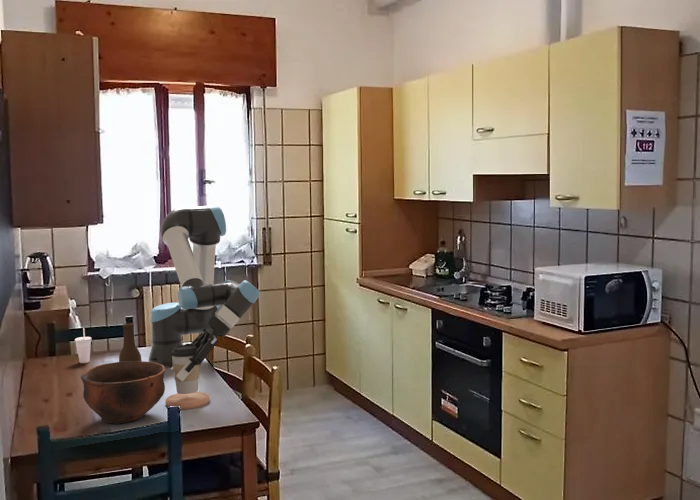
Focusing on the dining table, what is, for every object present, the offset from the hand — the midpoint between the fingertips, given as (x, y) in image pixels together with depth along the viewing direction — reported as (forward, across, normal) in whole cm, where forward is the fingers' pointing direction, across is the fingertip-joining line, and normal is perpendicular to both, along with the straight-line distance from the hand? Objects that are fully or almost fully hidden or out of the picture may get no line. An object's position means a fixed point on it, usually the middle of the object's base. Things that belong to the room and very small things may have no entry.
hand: (176, 374), depth 238 cm
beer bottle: (+16, +21, +2) cm, 27 cm away
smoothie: (+25, +73, +11) cm, 78 cm away
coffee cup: (+2, 0, -6) cm, 7 cm away
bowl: (+19, -6, +5) cm, 21 cm away
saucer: (+5, 0, -9) cm, 10 cm away
